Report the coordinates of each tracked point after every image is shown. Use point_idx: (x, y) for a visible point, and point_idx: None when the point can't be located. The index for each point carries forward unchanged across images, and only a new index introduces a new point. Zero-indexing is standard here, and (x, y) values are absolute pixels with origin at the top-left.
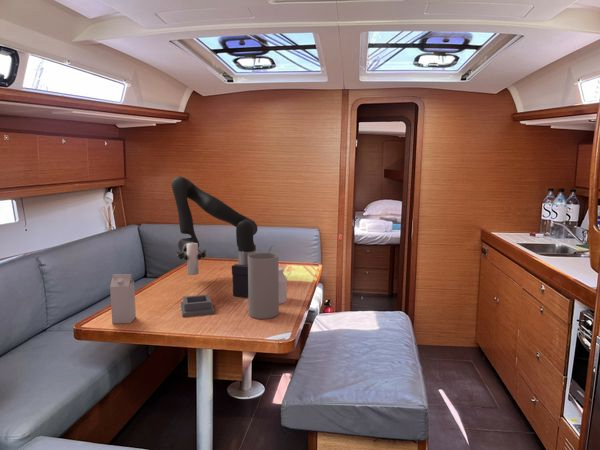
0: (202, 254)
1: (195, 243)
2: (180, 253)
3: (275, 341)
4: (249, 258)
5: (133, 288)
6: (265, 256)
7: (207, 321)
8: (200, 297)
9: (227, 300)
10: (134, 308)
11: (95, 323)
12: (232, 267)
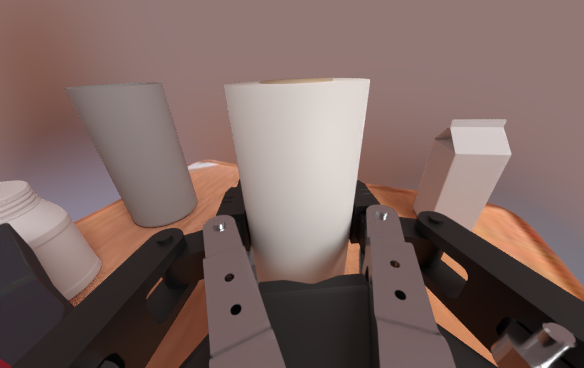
0: (190, 238)
1: (251, 84)
2: (442, 216)
3: (212, 160)
4: (161, 85)
5: (445, 165)
6: (80, 100)
7: None
8: None
9: (179, 315)
10: (429, 208)
11: (490, 217)
12: (41, 278)
